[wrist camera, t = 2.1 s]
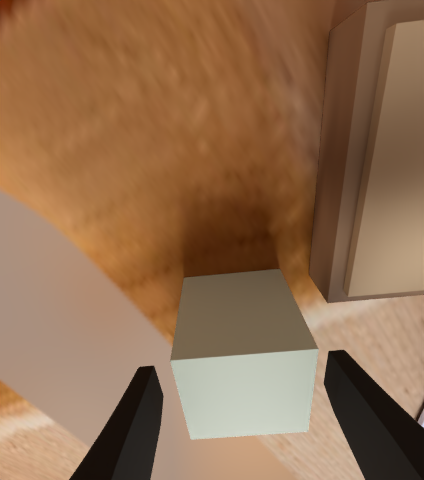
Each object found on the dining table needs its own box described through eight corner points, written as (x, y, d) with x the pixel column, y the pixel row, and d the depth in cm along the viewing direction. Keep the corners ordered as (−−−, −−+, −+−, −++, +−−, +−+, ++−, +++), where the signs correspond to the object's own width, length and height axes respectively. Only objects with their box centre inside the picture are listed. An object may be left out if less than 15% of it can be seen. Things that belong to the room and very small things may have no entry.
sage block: (278, 337, 15) (308, 431, 10) (196, 344, 15) (190, 439, 10) (279, 267, 13) (318, 349, 8) (184, 276, 13) (170, 360, 8)
